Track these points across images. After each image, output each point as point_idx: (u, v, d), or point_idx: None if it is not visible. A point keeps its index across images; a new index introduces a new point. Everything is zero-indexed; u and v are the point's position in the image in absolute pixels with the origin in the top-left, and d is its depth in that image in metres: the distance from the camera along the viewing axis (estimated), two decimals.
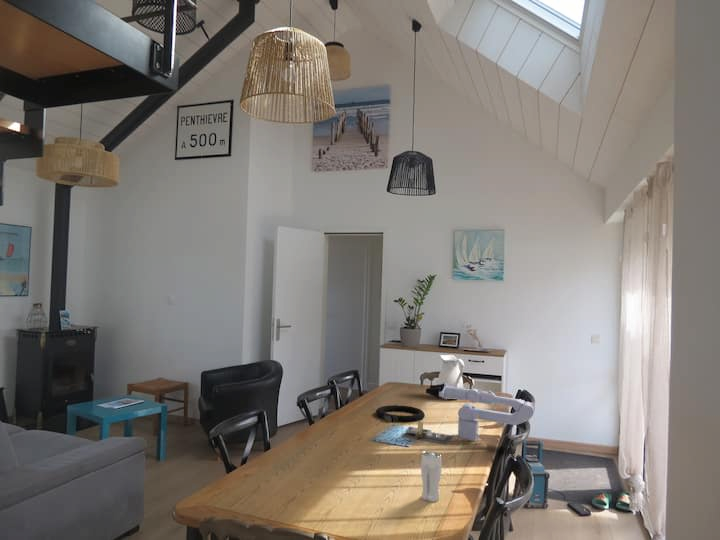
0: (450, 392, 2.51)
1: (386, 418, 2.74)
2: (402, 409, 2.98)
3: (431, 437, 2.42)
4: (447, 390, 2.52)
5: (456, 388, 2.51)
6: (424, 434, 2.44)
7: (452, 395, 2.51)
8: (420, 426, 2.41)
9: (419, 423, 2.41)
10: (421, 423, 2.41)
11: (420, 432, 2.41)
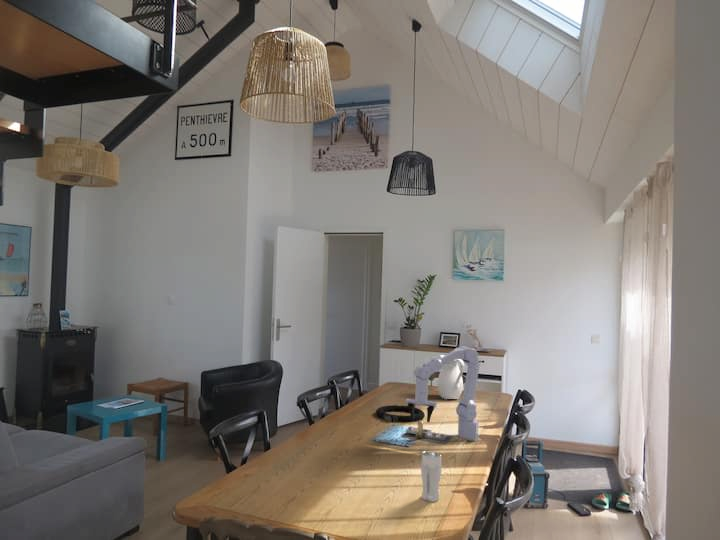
0: (426, 395, 2.41)
1: (386, 418, 2.74)
2: (402, 409, 2.98)
3: (431, 437, 2.42)
4: (425, 400, 2.41)
5: (418, 390, 2.41)
6: (424, 434, 2.44)
7: (427, 393, 2.42)
8: (420, 426, 2.41)
9: (419, 423, 2.41)
10: (421, 423, 2.41)
11: (420, 432, 2.41)
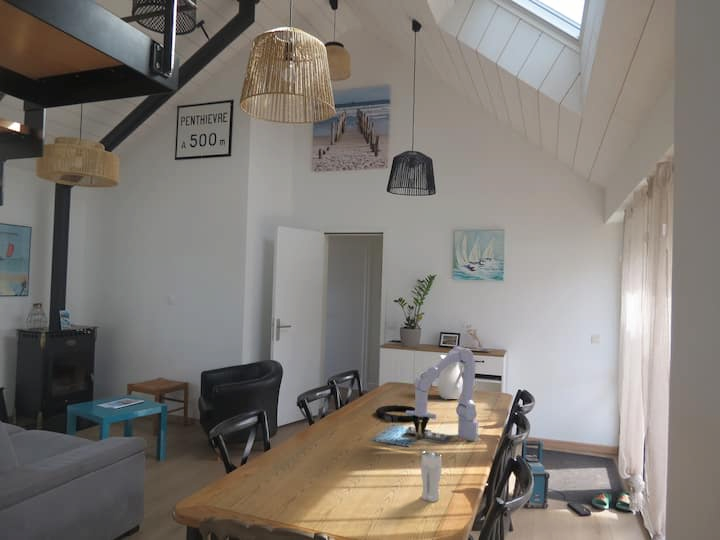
0: (426, 407, 2.41)
1: (386, 418, 2.74)
2: (402, 409, 2.98)
3: (431, 437, 2.42)
4: (425, 411, 2.40)
5: (417, 402, 2.41)
6: (424, 434, 2.44)
7: None
8: (420, 426, 2.41)
9: (419, 423, 2.41)
10: (421, 423, 2.41)
11: (420, 432, 2.41)
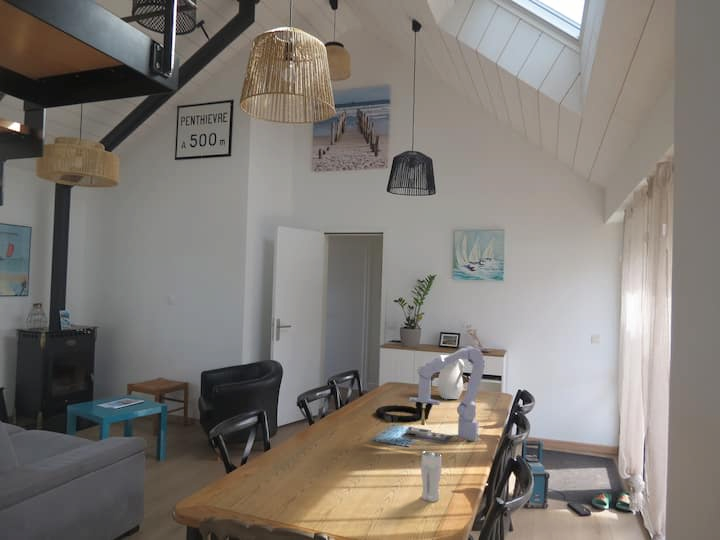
0: (429, 394, 2.45)
1: (386, 418, 2.74)
2: (402, 409, 2.98)
3: (431, 437, 2.42)
4: (428, 398, 2.45)
5: (420, 388, 2.46)
6: (424, 434, 2.44)
7: None
8: (423, 412, 2.46)
9: (423, 409, 2.46)
10: (424, 409, 2.46)
11: (424, 418, 2.46)
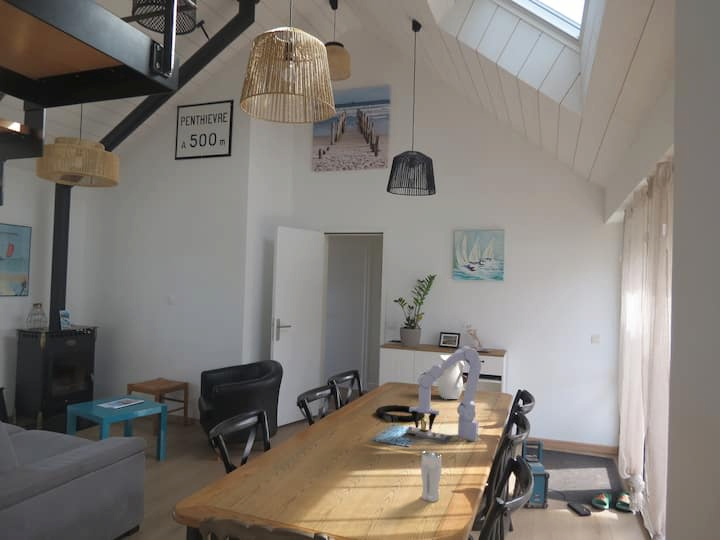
0: (429, 404, 2.46)
1: (386, 418, 2.74)
2: (402, 409, 2.98)
3: (431, 437, 2.42)
4: (428, 408, 2.45)
5: (420, 398, 2.46)
6: (424, 434, 2.44)
7: None
8: (423, 423, 2.46)
9: (422, 420, 2.46)
10: (424, 420, 2.46)
11: (423, 429, 2.46)
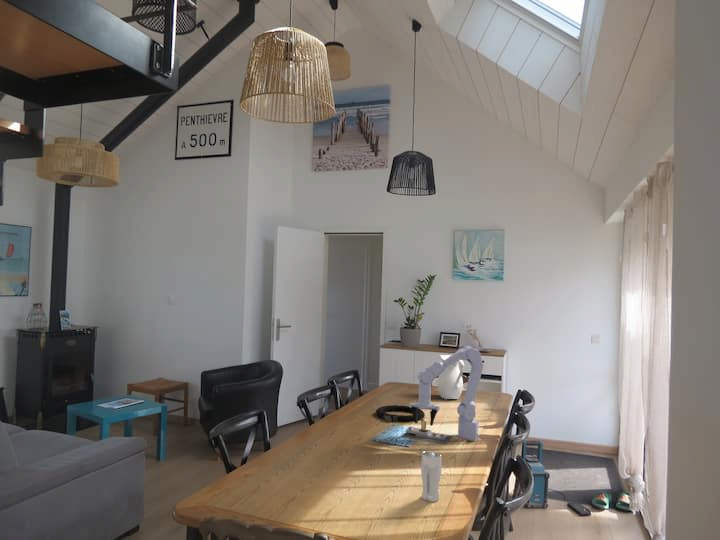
0: (429, 399, 2.46)
1: (386, 418, 2.74)
2: (402, 409, 2.98)
3: (431, 437, 2.42)
4: (428, 403, 2.45)
5: (420, 394, 2.46)
6: (424, 434, 2.44)
7: None
8: (423, 423, 2.46)
9: (422, 420, 2.46)
10: (424, 420, 2.46)
11: (423, 429, 2.46)
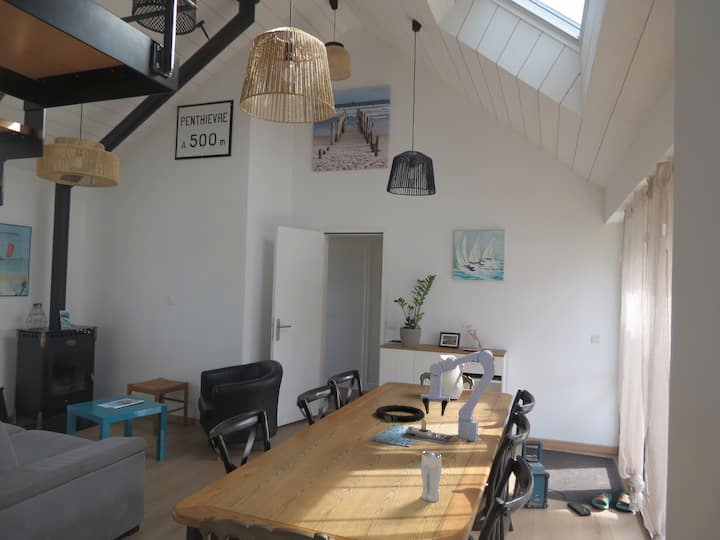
0: (440, 390, 2.54)
1: (386, 418, 2.74)
2: (402, 409, 2.98)
3: (431, 437, 2.42)
4: (439, 395, 2.53)
5: (430, 385, 2.55)
6: (424, 434, 2.44)
7: None
8: (423, 423, 2.46)
9: (422, 420, 2.46)
10: (424, 420, 2.46)
11: (423, 429, 2.46)
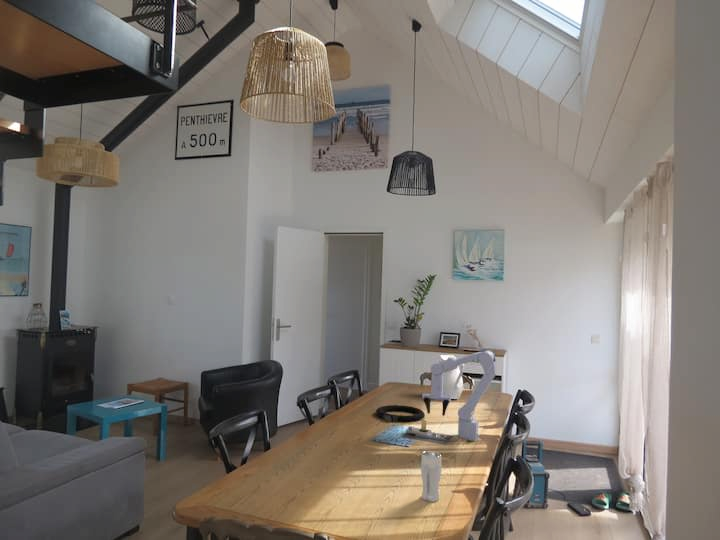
0: (441, 390, 2.55)
1: (386, 418, 2.74)
2: (402, 409, 2.98)
3: (431, 437, 2.42)
4: (441, 394, 2.54)
5: (431, 384, 2.57)
6: (424, 434, 2.44)
7: (442, 388, 2.56)
8: (423, 423, 2.46)
9: (422, 420, 2.46)
10: (424, 420, 2.46)
11: (423, 429, 2.46)
